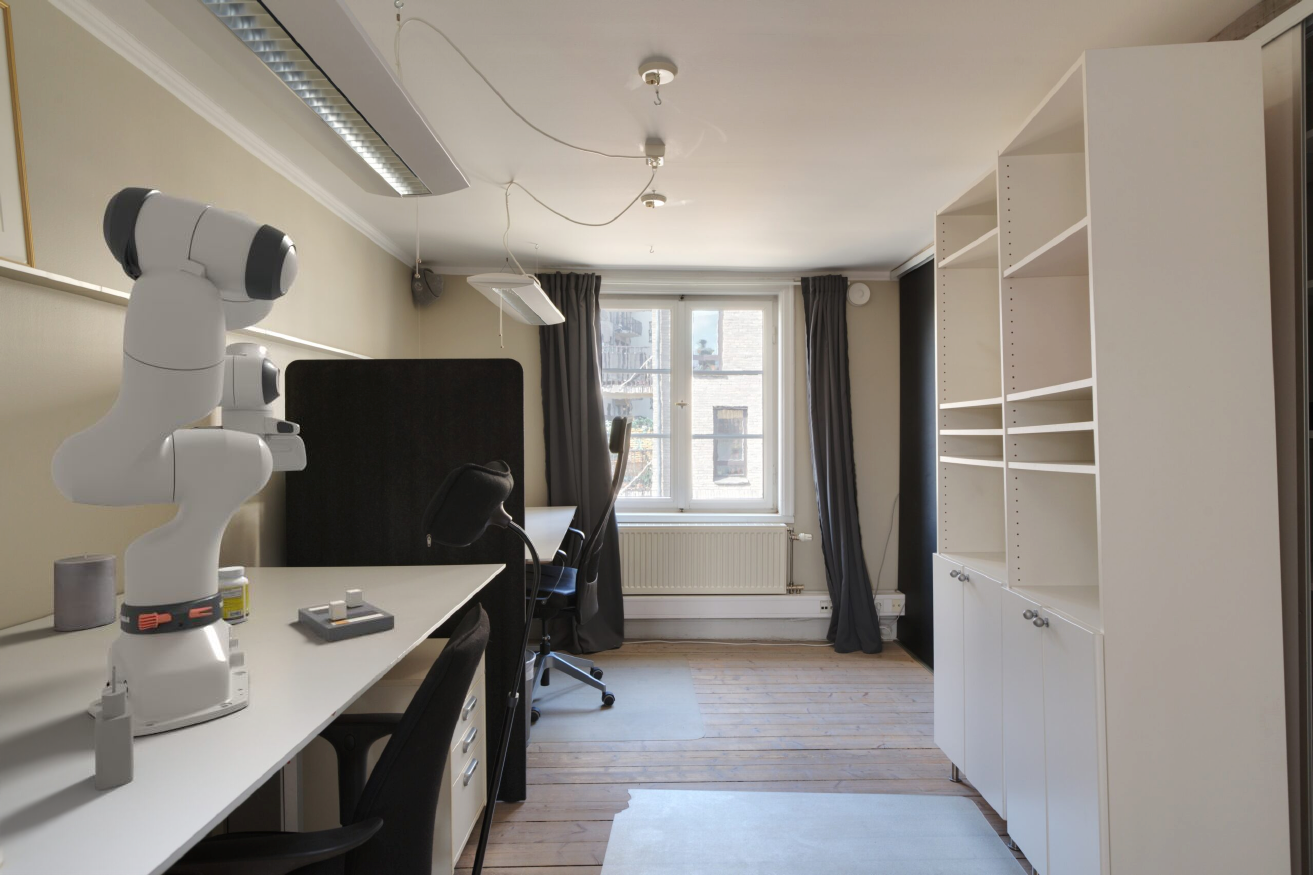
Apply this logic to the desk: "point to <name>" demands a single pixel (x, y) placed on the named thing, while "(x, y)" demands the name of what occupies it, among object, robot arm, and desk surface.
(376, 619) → the switch housing
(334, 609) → the front slider
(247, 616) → the pill bottle
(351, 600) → the rear slider
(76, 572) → the pillar candle
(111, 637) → the desk surface
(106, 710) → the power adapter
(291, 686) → the desk surface
